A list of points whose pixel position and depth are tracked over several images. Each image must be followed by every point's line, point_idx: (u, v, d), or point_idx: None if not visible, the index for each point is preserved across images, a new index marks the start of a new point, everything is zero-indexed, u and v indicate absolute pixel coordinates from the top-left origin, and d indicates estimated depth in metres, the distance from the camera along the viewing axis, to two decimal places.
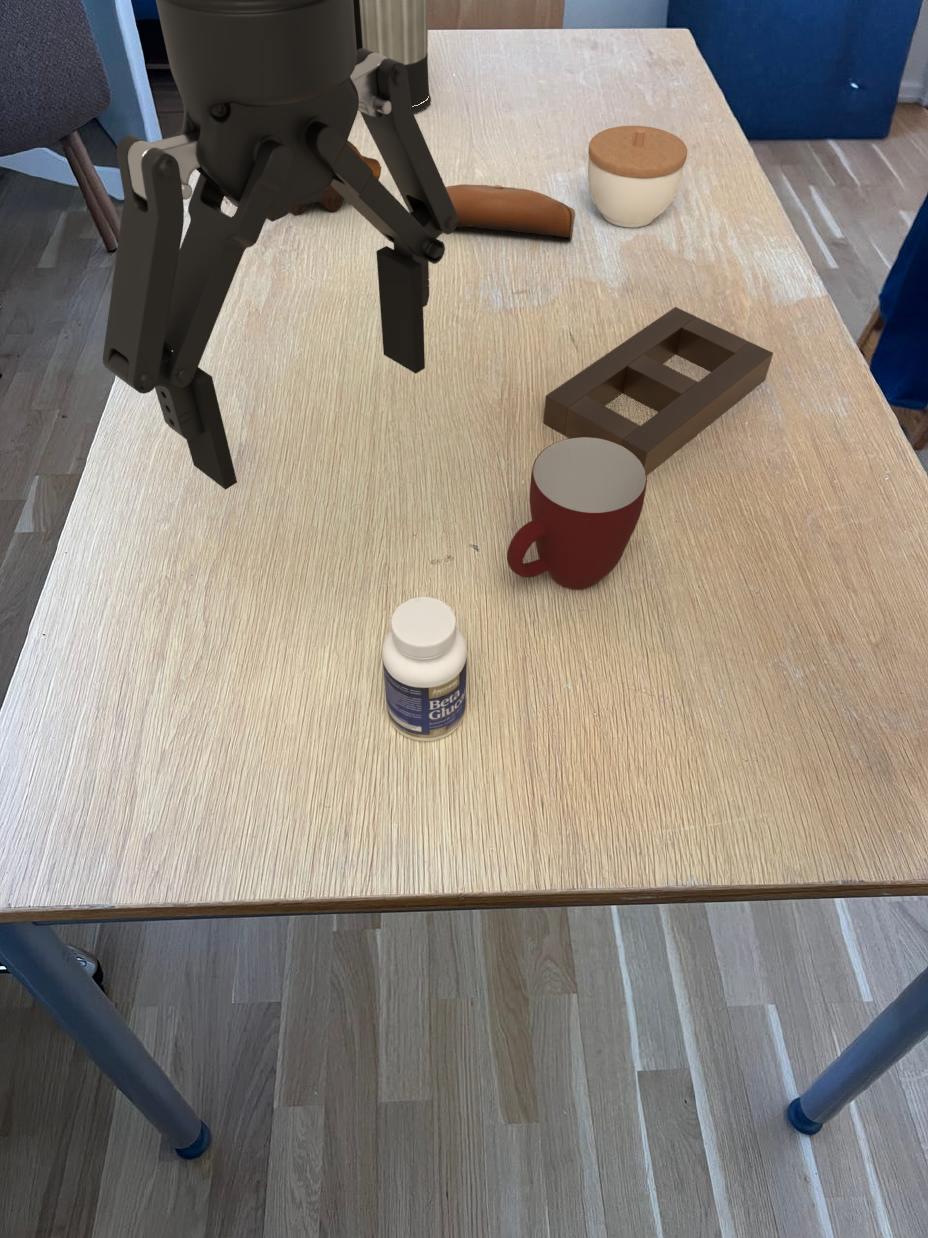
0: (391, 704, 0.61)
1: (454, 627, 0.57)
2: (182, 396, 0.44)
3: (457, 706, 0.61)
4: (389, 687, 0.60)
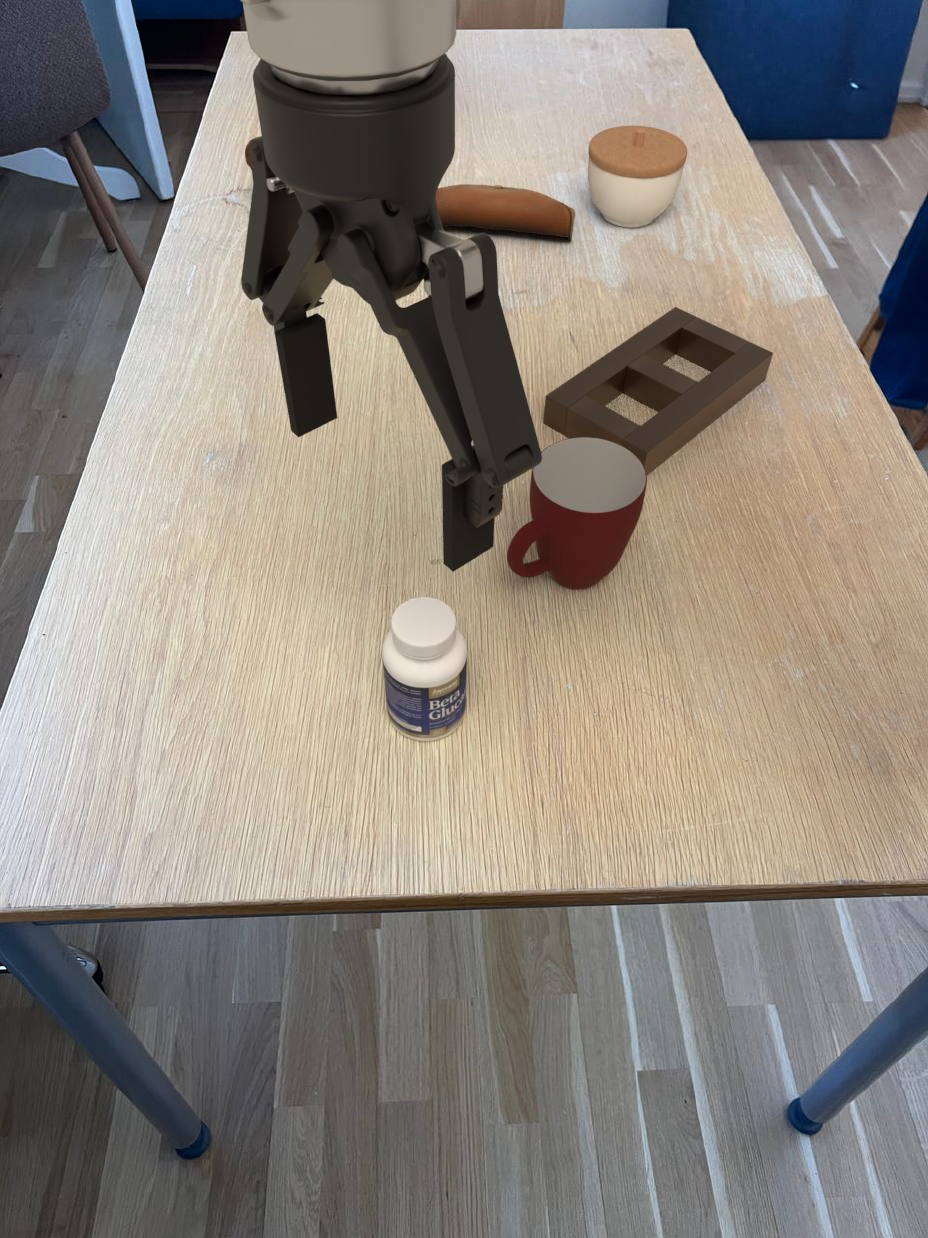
0: (391, 704, 0.61)
1: (454, 627, 0.57)
2: None
3: (457, 706, 0.61)
4: (389, 687, 0.60)
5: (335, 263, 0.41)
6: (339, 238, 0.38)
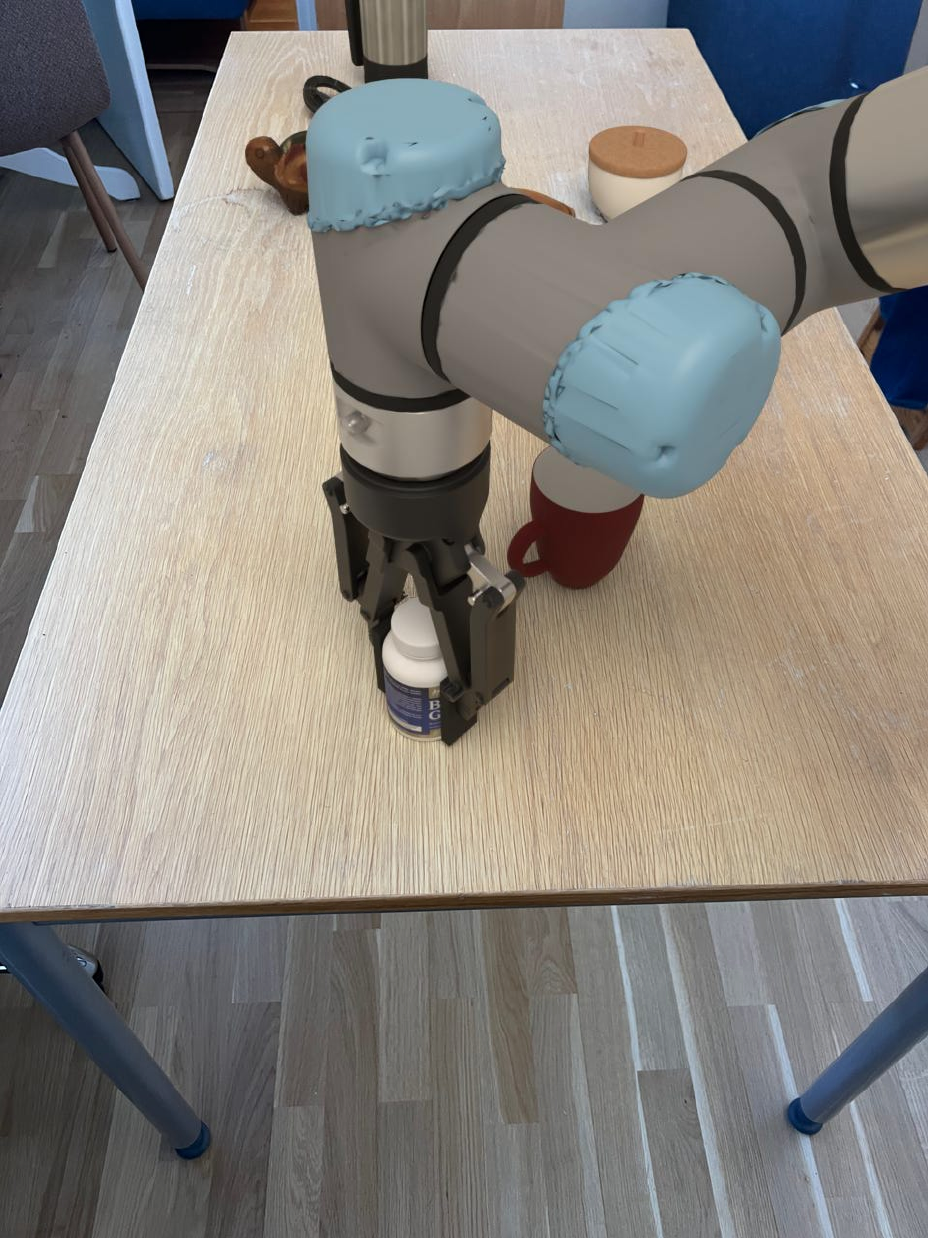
0: (391, 704, 0.61)
1: None
2: None
3: None
4: (389, 687, 0.60)
5: (393, 554, 0.53)
6: (406, 551, 0.50)
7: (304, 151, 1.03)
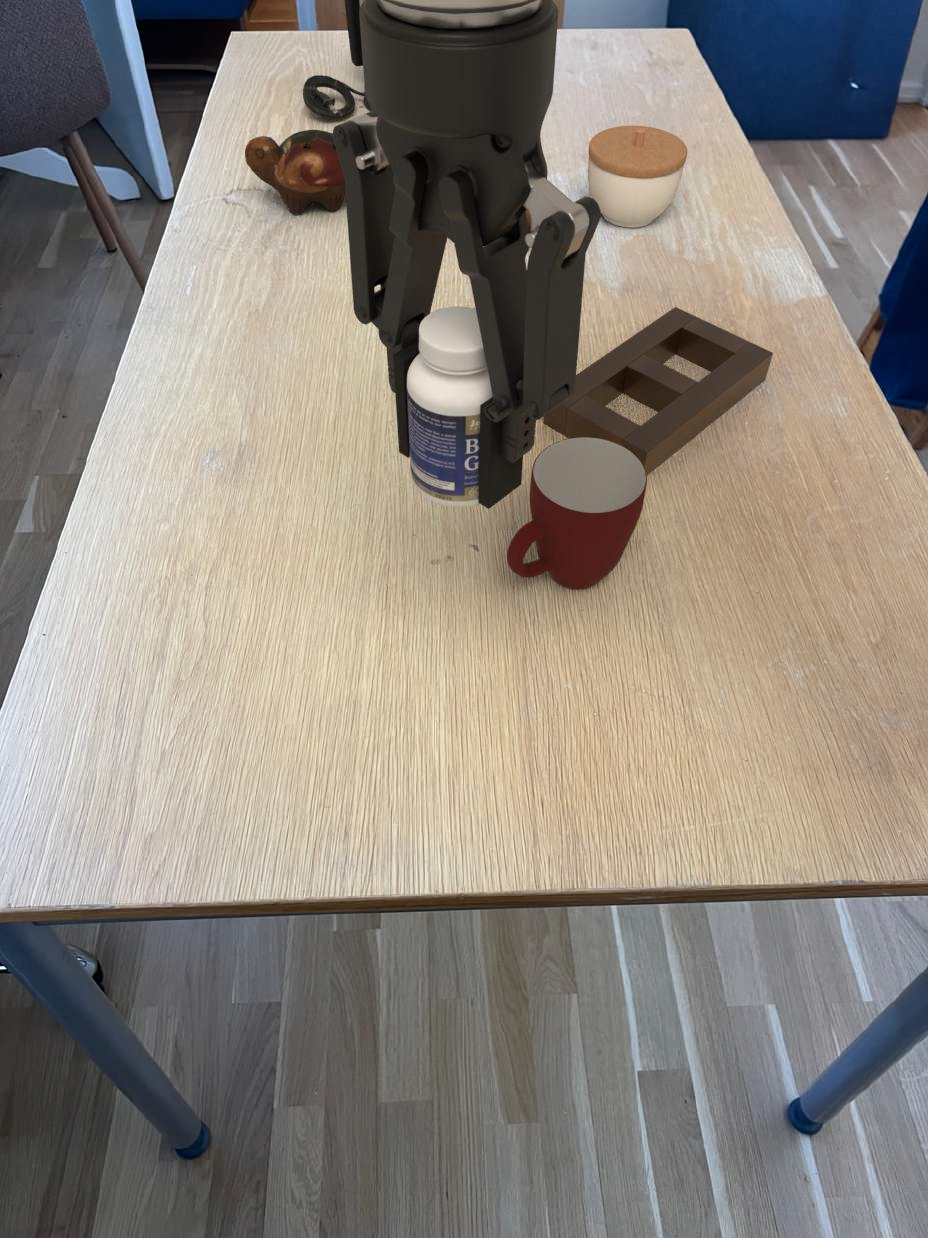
0: (417, 455, 0.50)
1: None
2: None
3: None
4: (415, 427, 0.49)
5: (425, 210, 0.41)
6: (444, 178, 0.38)
7: (304, 151, 1.03)
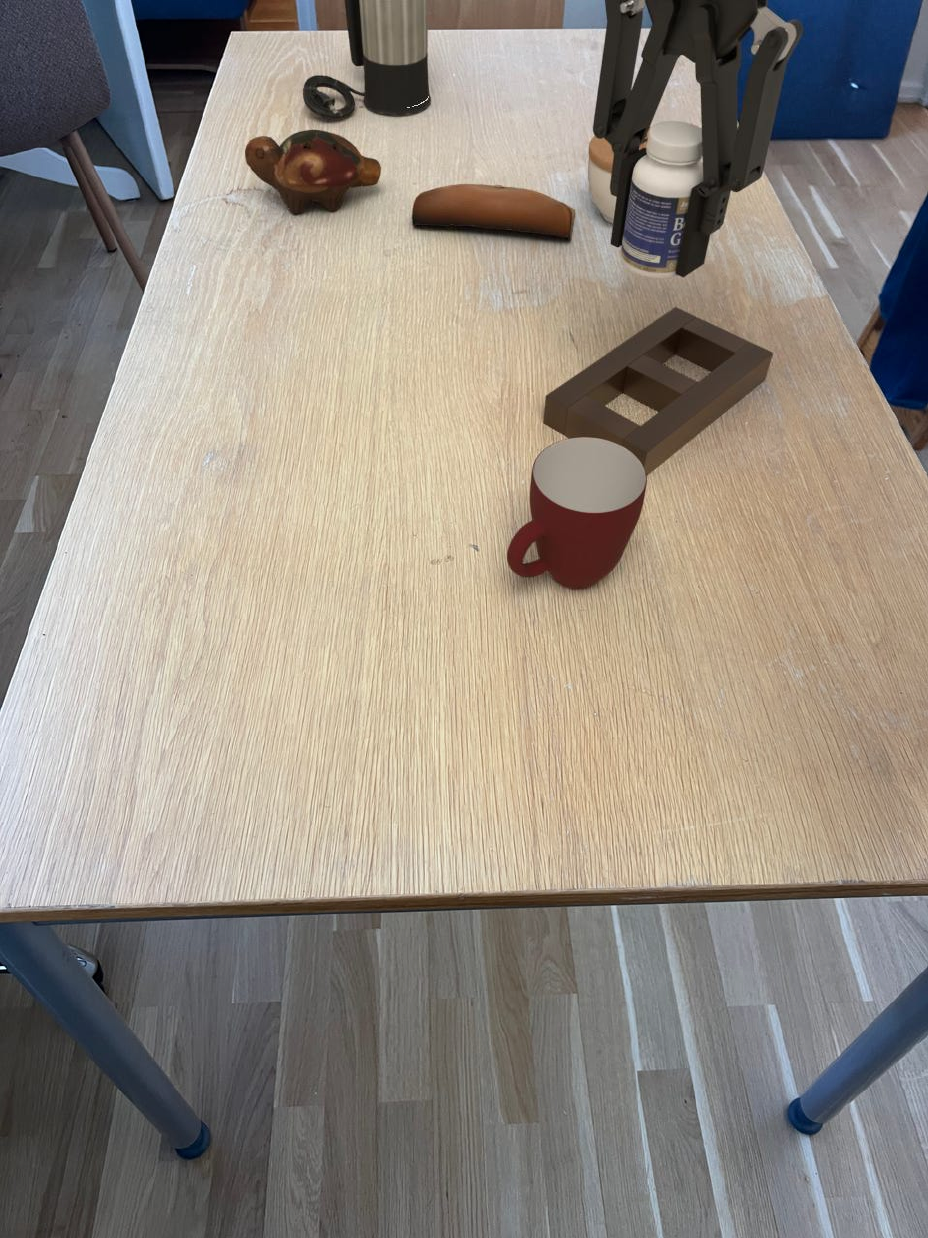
0: (634, 235, 0.69)
1: None
2: None
3: None
4: (637, 211, 0.68)
5: (671, 38, 0.61)
6: (697, 8, 0.58)
7: (304, 151, 1.03)
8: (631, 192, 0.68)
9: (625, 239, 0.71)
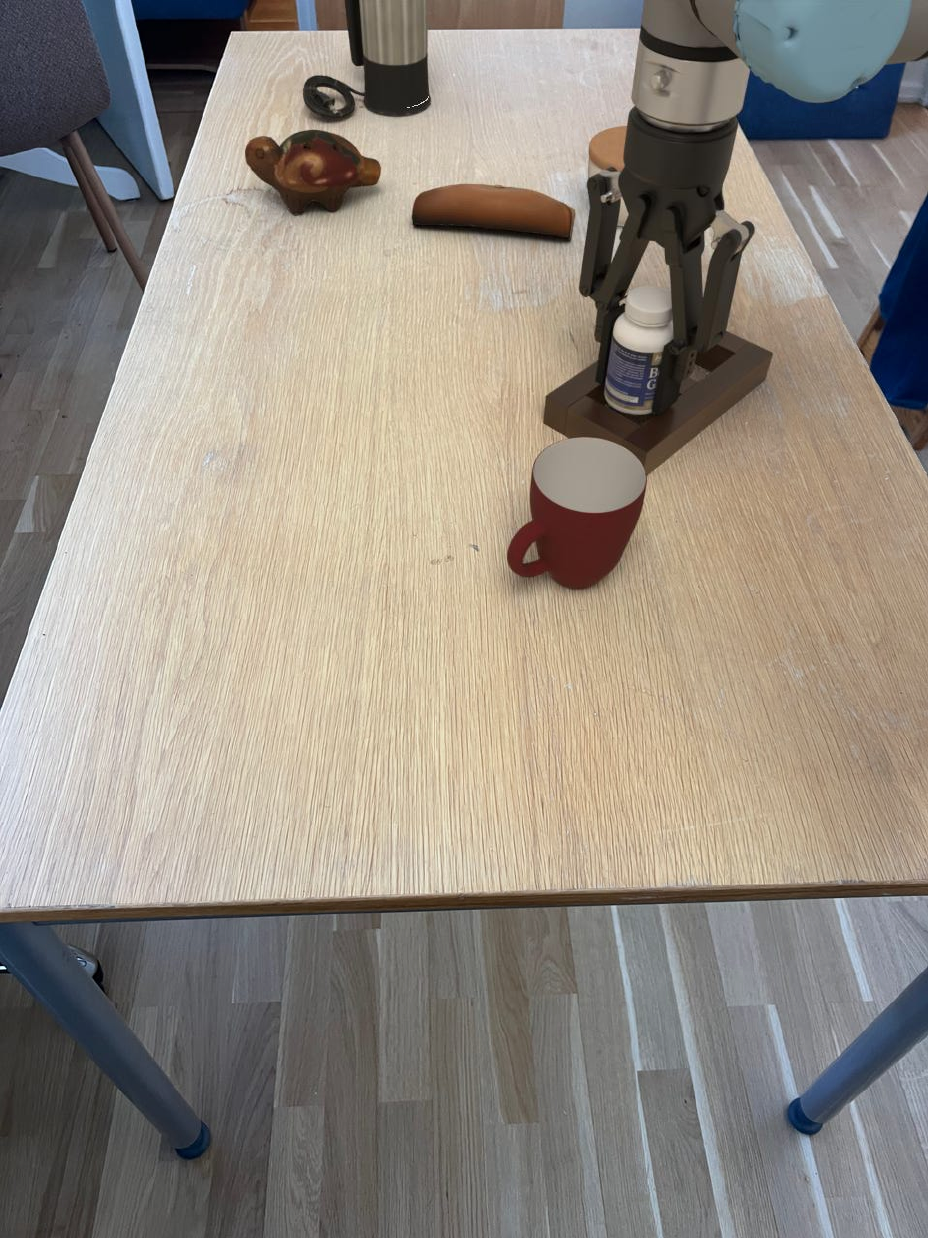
0: (615, 379, 0.79)
1: None
2: None
3: None
4: (617, 361, 0.78)
5: (644, 227, 0.71)
6: (665, 210, 0.68)
7: (304, 151, 1.03)
8: (612, 344, 0.78)
9: (608, 380, 0.81)
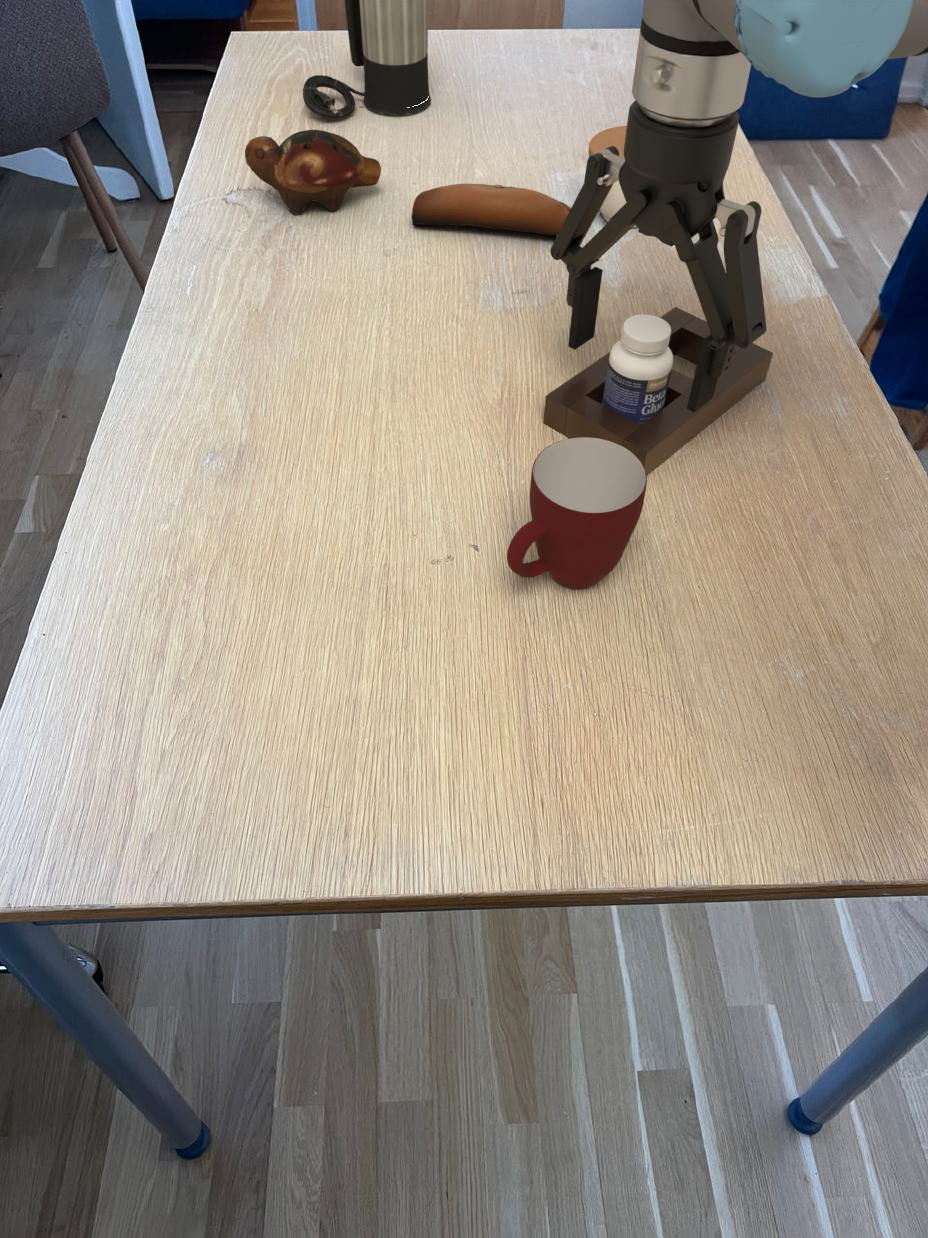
0: (611, 404, 0.82)
1: (670, 331, 0.77)
2: None
3: (660, 406, 0.82)
4: (613, 387, 0.80)
5: (645, 222, 0.71)
6: (663, 206, 0.68)
7: (304, 151, 1.03)
8: (608, 370, 0.80)
9: None
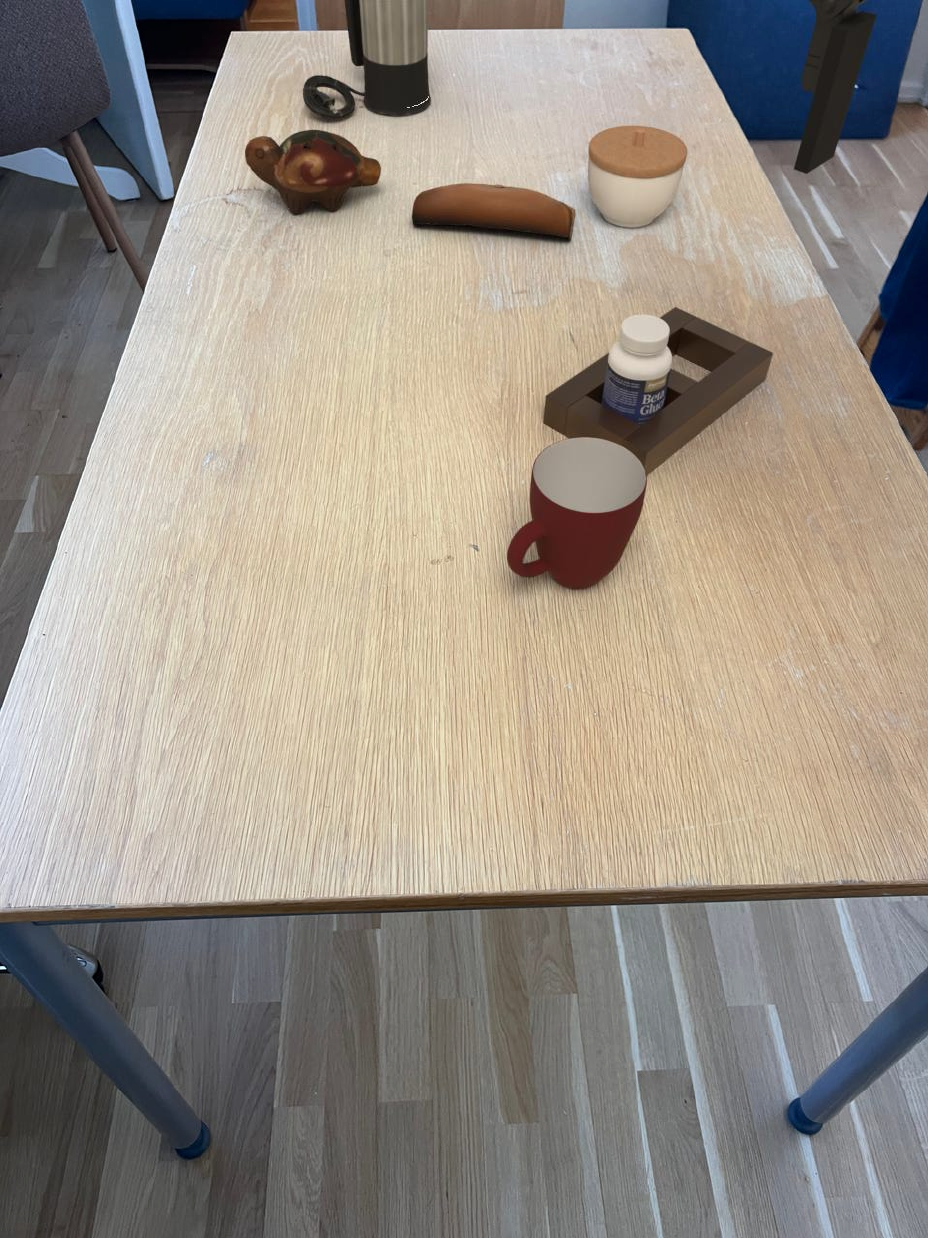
0: (610, 404, 0.82)
1: (669, 331, 0.77)
2: None
3: (660, 406, 0.81)
4: (612, 387, 0.80)
5: None
6: None
7: (304, 151, 1.03)
8: (607, 370, 0.80)
9: None
